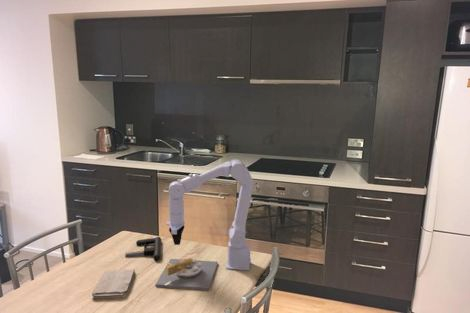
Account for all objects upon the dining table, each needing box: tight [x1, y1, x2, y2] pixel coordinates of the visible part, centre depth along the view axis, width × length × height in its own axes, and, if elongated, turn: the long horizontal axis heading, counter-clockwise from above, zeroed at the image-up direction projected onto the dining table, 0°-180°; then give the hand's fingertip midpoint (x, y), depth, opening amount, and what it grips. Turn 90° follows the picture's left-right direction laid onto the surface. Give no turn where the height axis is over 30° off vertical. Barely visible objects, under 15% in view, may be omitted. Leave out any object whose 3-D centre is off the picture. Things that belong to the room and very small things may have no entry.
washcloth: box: [91, 268, 136, 300], centre depth 131 cm, size 12×18×3 cm, turn 6°
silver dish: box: [165, 257, 201, 278], centre depth 137 cm, size 14×10×5 cm
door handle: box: [124, 236, 164, 262], centre depth 158 cm, size 3×20×16 cm
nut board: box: [155, 258, 218, 291], centre depth 139 cm, size 20×20×1 cm
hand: (177, 244), depth 142 cm, fingers closed
